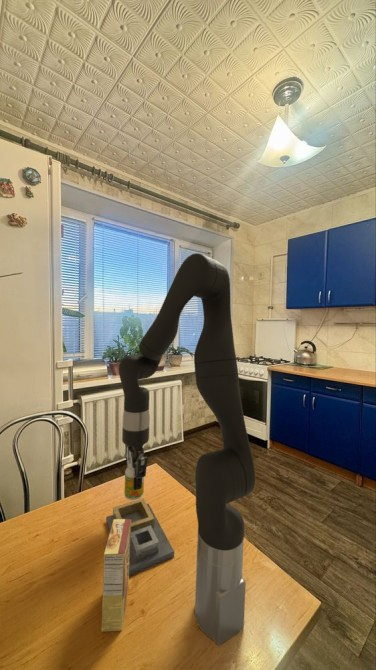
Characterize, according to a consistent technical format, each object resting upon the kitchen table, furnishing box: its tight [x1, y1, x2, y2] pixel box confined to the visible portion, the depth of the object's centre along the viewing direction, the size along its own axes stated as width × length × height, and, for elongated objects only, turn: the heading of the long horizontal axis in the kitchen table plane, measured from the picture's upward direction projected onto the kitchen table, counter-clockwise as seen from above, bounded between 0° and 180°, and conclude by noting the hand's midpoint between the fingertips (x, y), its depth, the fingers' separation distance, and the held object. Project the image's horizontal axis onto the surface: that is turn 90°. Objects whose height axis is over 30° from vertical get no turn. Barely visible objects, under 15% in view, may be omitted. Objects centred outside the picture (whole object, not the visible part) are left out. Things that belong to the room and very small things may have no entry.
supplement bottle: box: [124, 459, 145, 501], centre depth 73 cm, size 5×5×10 cm
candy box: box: [101, 519, 131, 633], centre depth 52 cm, size 9×4×15 cm, turn 6°
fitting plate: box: [105, 498, 175, 578], centre depth 69 cm, size 19×13×4 cm
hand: (134, 482), depth 73 cm, fingers closed on supplement bottle, 5 cm apart
